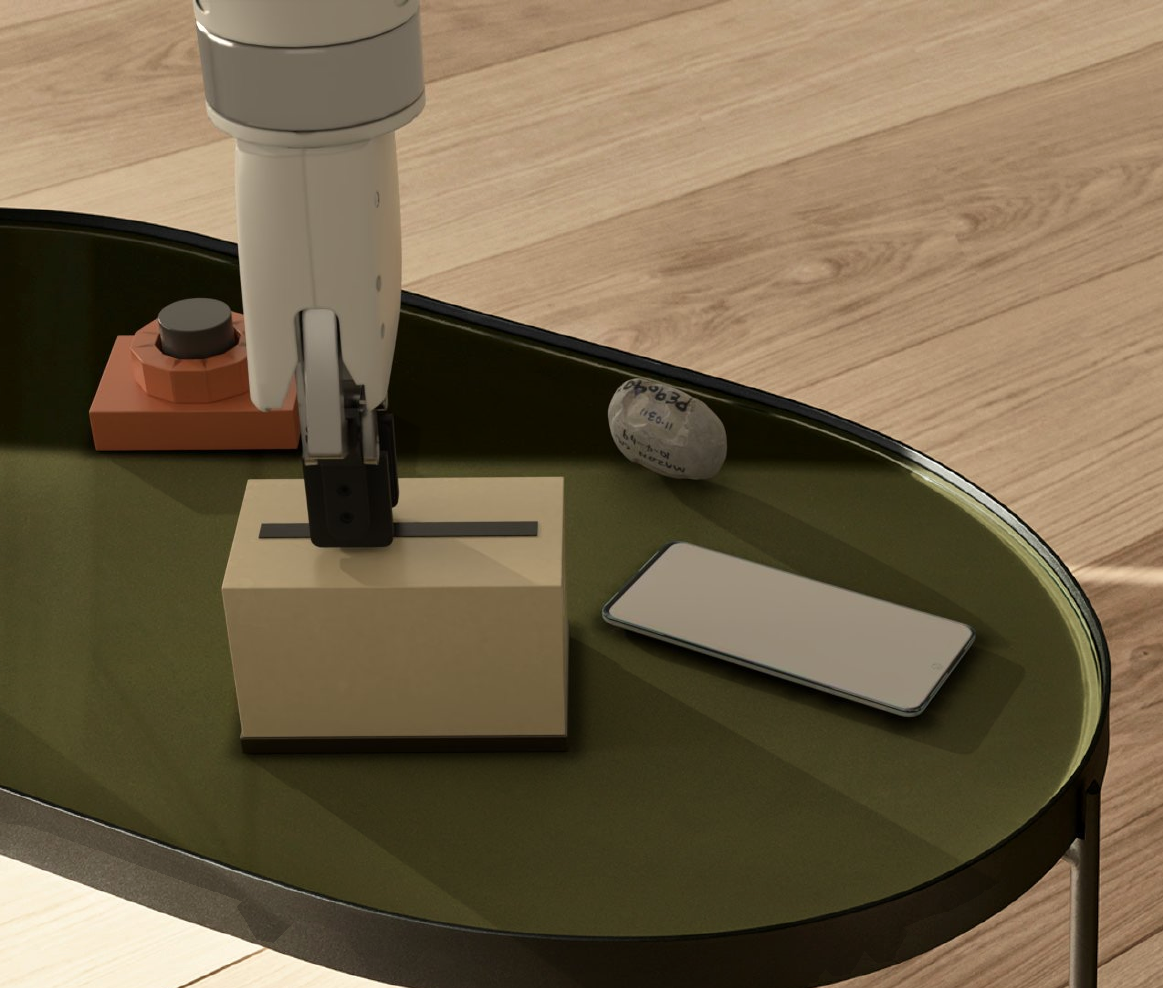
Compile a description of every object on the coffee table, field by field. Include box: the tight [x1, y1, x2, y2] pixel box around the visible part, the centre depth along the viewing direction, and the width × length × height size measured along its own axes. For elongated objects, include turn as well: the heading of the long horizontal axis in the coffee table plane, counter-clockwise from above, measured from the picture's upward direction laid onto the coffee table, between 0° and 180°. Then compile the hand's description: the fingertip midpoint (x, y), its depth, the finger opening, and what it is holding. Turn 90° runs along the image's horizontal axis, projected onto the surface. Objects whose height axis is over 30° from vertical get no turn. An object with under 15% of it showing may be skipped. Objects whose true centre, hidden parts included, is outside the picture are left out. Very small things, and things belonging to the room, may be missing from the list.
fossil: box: [607, 377, 728, 481], centre depth 100 cm, size 6×3×5 cm, turn 59°
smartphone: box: [601, 540, 977, 718], centre depth 91 cm, size 7×1×15 cm
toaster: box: [221, 476, 571, 754], centre depth 86 cm, size 13×8×8 cm, turn 90°
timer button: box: [157, 297, 235, 359], centre depth 104 cm, size 4×4×2 cm
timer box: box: [88, 310, 301, 452], centre depth 106 cm, size 10×8×4 cm
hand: (356, 521), depth 83 cm, fingers closed
